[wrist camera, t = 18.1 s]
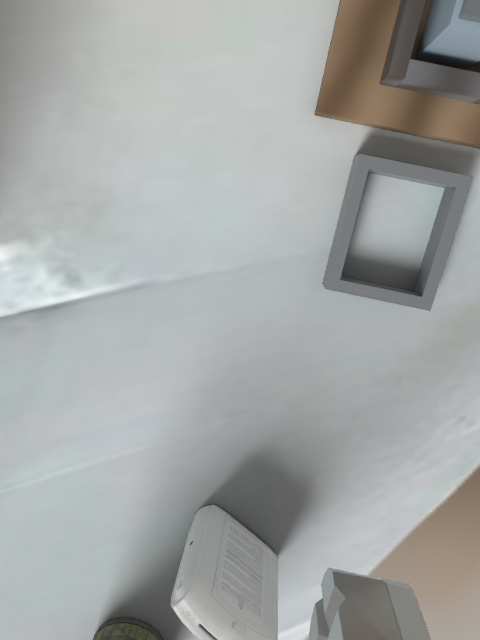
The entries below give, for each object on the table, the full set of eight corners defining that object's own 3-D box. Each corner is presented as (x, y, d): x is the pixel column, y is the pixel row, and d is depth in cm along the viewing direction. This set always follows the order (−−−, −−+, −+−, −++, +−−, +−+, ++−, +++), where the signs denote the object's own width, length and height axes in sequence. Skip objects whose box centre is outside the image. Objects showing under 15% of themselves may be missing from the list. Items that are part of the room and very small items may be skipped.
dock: (314, 115, 38) (319, 104, 34) (366, -118, 34) (380, -165, 29) (518, 156, 38) (550, 151, 33) (597, -73, 33) (645, -114, 29)
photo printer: (184, 521, 49) (155, 625, 37) (210, 495, 48) (189, 594, 36) (256, 577, 50) (251, 696, 38) (283, 554, 49) (287, 668, 37)
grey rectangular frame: (322, 283, 41) (325, 288, 39) (354, 156, 38) (359, 153, 36) (421, 304, 41) (430, 310, 39) (460, 178, 38) (473, 176, 36)
